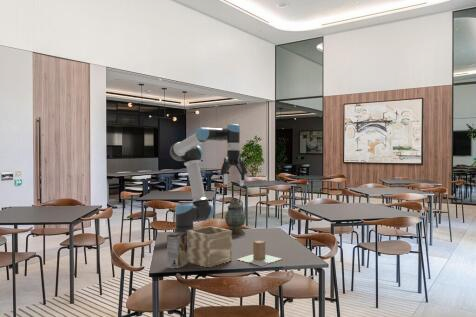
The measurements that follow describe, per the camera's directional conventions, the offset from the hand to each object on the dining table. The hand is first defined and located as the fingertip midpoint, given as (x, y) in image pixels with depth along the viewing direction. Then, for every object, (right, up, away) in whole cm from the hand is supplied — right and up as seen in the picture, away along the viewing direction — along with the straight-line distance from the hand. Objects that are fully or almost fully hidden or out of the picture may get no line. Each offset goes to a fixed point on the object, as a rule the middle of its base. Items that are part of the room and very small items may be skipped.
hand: (233, 185), depth 219 cm
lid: (+14, -38, -28) cm, 49 cm away
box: (-12, -37, -31) cm, 50 cm away
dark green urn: (+1, -37, +36) cm, 51 cm away
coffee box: (-27, -37, -38) cm, 60 cm away
